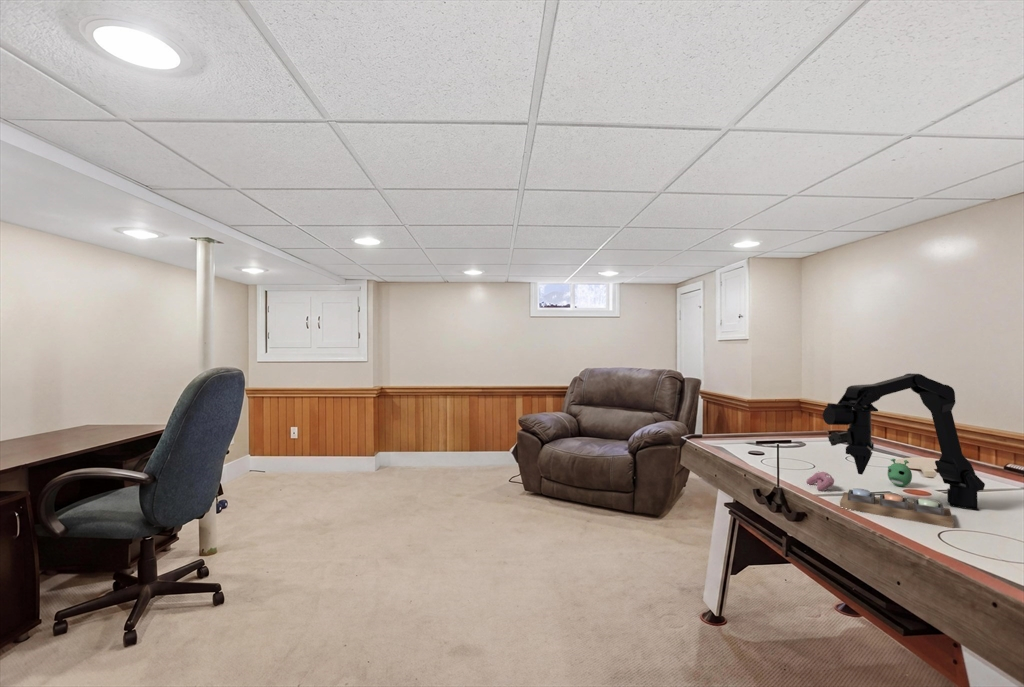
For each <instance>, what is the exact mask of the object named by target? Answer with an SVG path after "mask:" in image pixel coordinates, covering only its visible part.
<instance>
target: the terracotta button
mask: <svg viewBox="0 0 1024 687" xmlns="http://www.w3.org/2000/svg"><path fill="white" fill-rule="evenodd" d="M883 495H884V497H885V499H887V500H894V501H900V502H903V498H904V496H903V495H901V494H897V493H889V492H888V493H887V492H886V493H884V494H883Z"/></svg>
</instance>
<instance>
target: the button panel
mask: <svg viewBox="0 0 1024 687" xmlns="http://www.w3.org/2000/svg"><path fill="white" fill-rule="evenodd" d="M908 499H909V498H908V497H903V502H900V501H894V500H887V499H885V497H884V494H882V493H881V494H880V493H879V497H878V496H876V493H875V492H870V497H868V496H862V495H855V494H853V489H849V490H848V492H846V491H844V492H843V494H842V496H841V498H840V501H839V508H840V507H843V508H847V509H846V510H848V509H851V510H850V511H854V510H856V511H855V512H859V511H860V512H861V513H865V514H866V513H867V514H871V515H875V516H876V515H879V516H883V517H889V518H896V519H900V520H901V519H902V520H905V521H912V522H916V523H917V522H918V523H922V524H928V525H932V526H933V525H934V526H940V527H947V528H952V529H954V518H953V515H952V511H951V509H950V508H948V507H944V504H943V503H940V502H938V507H932V506H925V505H919V502H918V499H915V498H914V499H913V502H909V501H908ZM860 512H859V513H860Z"/></svg>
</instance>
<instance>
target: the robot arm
mask: <svg viewBox="0 0 1024 687" xmlns="http://www.w3.org/2000/svg"><path fill="white" fill-rule="evenodd" d="M908 389H910V390H911V391H912V392H913V393H915V394H918V395H919V397H920V399H921V402H922V404H923V405H924V406H925V407H926V408H927V409H928V411H929V412H930V414H931V417H932V420H933V422H932V423H933V424H934V425H933V426H934V429H935V434H936V437H937V442H938V445H939V449H940V453H941V455H940V457H939V459H938V460H935V461H934V464H935V466H936V473H937V474H938V475H939V476H940V477H941V479H942V482H943V483H944V484H945V485H949V488H946V498H947V503H949V505H950V507H955V508H962V509H968V510H969V509H970V510H974V511H979V510H980V509H979V507H978V506H979V505H978V503H979V502H978V492H980V491H984V490H985V485H986V484H985V482H984V481H983V480H982V479H981V478H980V477H979V476H978V475H977V474H976V473H975V472H976V471H975V469H974V467H973V464H972V463H971V461H969V460H968V459H967V457H966V456H965V455H963V451H962V448H961V444H960V438H959V436H958V435H959V434H958V432H957V426H956V423H955V419H954V416H953V412H952V410H953V409H954V407H955V404H956V392H955V390H954V388H953V387H952V386H950V385H948V384H944V383H942V382H939V381H937V380H934V379H932V378H928V377H927V376H925V375H923V374H921V373H905V374H904V375H901V376H896V377H893V378H890V379H885V380H883V381H879V382H876V383H871V384H854V385H850V386H847V387H846V390H845V391H844V392H845V393H844V394H843V395H842V396H841V398H840V399H839V401H838V402H837V403H830V402H828V403H827V404H826V405H827V407H825V409H824V410H823V413H822V419H823V421H824V423H825V424H826V425H830V426H832V425H834V426H848V428H847V431H842V432H838V431H835V432H831V433H830V434H828V435H827V439H828V442H829V443H830V446H833V447H834V446H837V445H841V444H845V443H847V444H846V447H845V454H846V455H850V456H851V457H852V458H853V460H854V464H855V467H856V470H857V474H858V475H863V474H864V473H865V470H866V468H867V466H868V464H869V462H870V461H871V460H870V459H871V457H872V456H873V451H874V450H875V449H874V448H875V446H874V445H875V443H874V442H873V441H872V431H873V429H872V412H878V411H879V409H878V408H877V407H875V406H874V404H873V403H875V402H877V401H879V400H880V399H881V398H882V397H885V396H887V395H891V394H894V393H895V394H896V393H897V392H901V391H905V390H908ZM872 450H873V451H872Z"/></svg>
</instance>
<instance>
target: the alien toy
mask: <svg viewBox="0 0 1024 687" xmlns="http://www.w3.org/2000/svg"><path fill="white" fill-rule="evenodd" d="M896 460H897V459H896V458H891V459H890V461H891V462H893V463H892V464H890V465H888V466H887V477H888V480H889V481H890V482H891V484H893V485H894V486H896V487H900V486H903V487H907V486H908V485H910V483H911V482H912V480H913V473H912V471H911V469H910V467H909V466H908V465H907V464H909V463H910V462H909V461H908V460H907V459H904V460H903V462H904V463H902V462H896Z"/></svg>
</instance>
